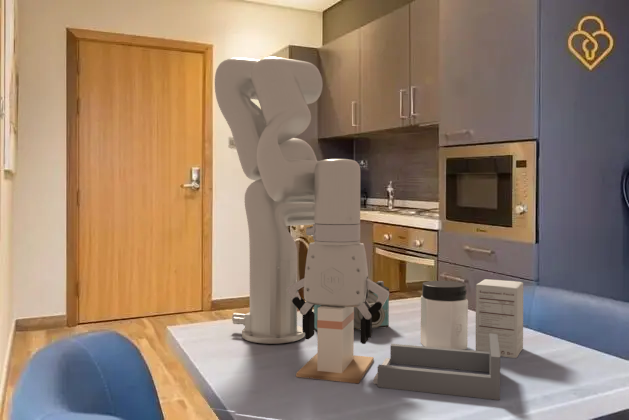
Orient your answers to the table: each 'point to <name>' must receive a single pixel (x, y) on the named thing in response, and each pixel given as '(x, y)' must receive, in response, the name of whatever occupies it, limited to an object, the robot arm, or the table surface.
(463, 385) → the frame
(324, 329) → the taped cardboard box
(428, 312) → the jar
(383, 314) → the camera
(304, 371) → the cork mat
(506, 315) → the supplement box
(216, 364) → the table surface
